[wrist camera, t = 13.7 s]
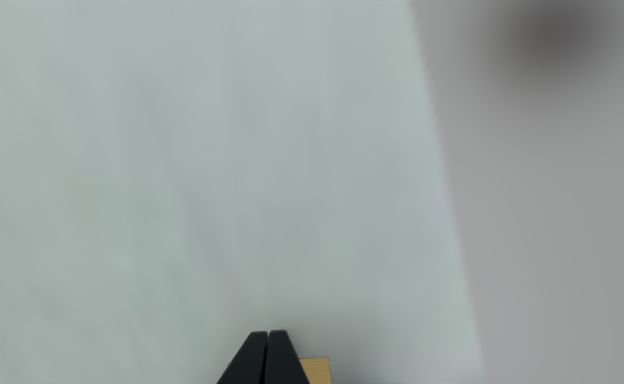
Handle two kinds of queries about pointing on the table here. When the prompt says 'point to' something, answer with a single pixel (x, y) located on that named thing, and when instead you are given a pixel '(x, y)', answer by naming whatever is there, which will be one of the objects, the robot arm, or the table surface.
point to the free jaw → (316, 370)
